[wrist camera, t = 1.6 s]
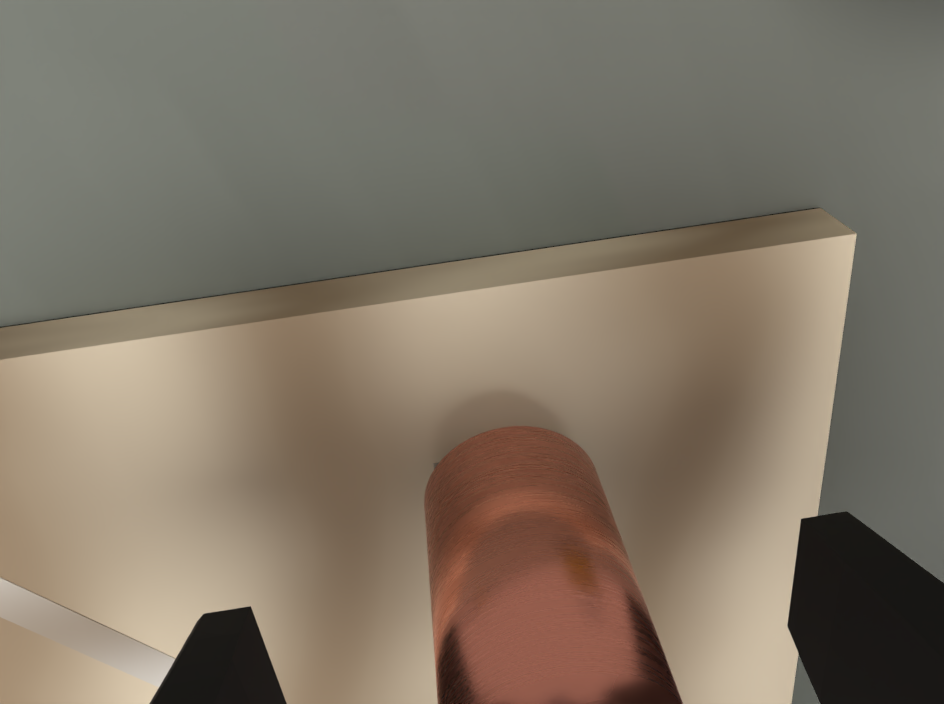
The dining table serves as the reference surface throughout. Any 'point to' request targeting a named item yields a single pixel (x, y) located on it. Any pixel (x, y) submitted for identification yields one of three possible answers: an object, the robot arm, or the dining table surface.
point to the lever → (534, 580)
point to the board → (416, 456)
